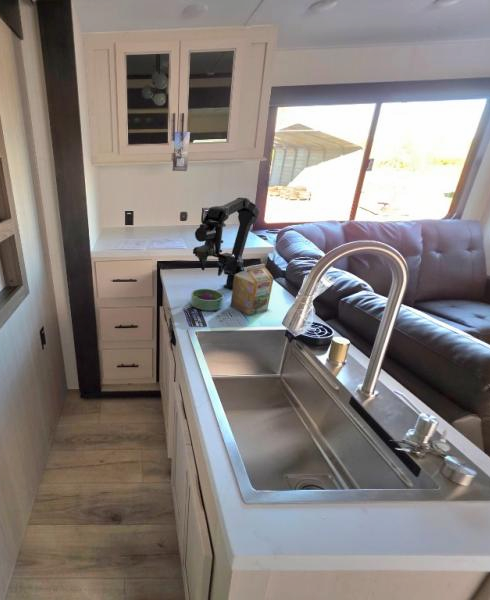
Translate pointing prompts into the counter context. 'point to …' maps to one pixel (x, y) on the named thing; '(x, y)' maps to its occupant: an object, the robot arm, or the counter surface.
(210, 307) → the bowl
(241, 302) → the milk carton
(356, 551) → the counter surface
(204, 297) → the ball
